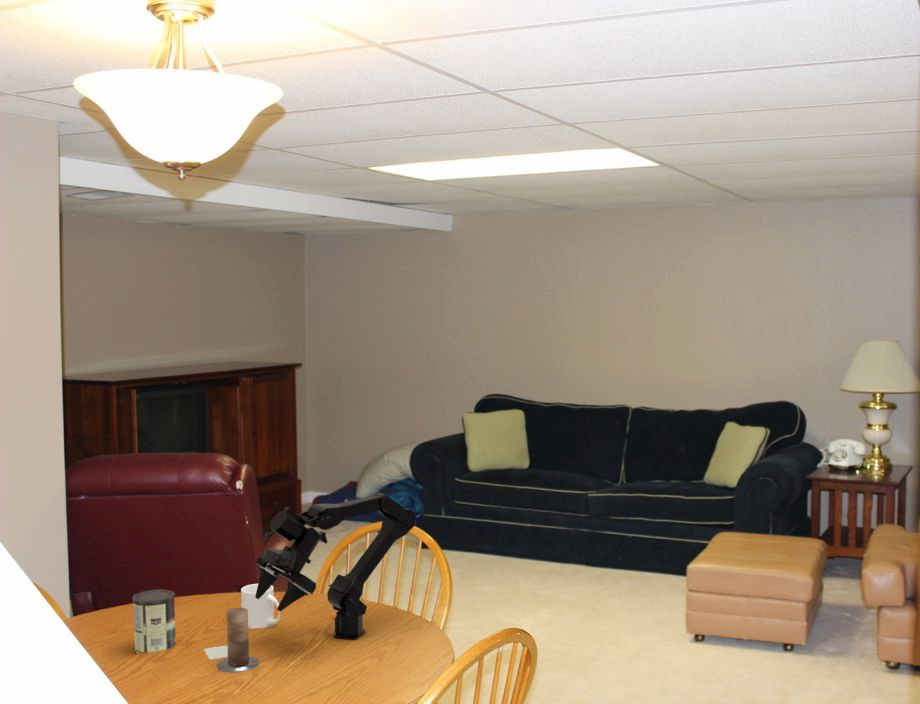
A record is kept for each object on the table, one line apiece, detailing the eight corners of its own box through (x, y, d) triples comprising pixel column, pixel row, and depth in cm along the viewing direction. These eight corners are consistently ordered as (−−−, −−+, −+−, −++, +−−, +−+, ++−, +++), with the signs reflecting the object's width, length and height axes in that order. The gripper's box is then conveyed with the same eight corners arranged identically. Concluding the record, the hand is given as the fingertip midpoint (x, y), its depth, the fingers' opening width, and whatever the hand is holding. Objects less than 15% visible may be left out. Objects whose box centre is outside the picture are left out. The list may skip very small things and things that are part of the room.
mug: (269, 636, 268) (268, 596, 267) (235, 629, 274) (234, 590, 273) (290, 626, 275) (289, 587, 274) (256, 619, 281) (255, 581, 280)
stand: (235, 647, 259) (235, 644, 259) (242, 658, 252) (242, 654, 252) (203, 652, 256) (203, 649, 256) (209, 663, 249) (209, 659, 249)
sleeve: (250, 659, 248) (249, 607, 247) (246, 667, 243) (245, 614, 242) (230, 659, 248) (229, 607, 247) (226, 667, 243) (224, 614, 242)
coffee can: (162, 639, 266) (161, 586, 265) (183, 648, 259) (182, 594, 258) (126, 649, 259) (124, 595, 258) (147, 659, 252) (145, 604, 251)
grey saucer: (266, 663, 249) (266, 658, 249) (246, 678, 239) (246, 673, 239) (230, 659, 252) (230, 654, 251) (209, 673, 242) (209, 669, 242)
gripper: (259, 525, 259) (225, 579, 254) (304, 546, 246) (269, 603, 241) (286, 544, 266) (253, 597, 261) (331, 565, 254) (297, 621, 249)
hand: (267, 604), depth 253 cm, fingers open, 9 cm apart
